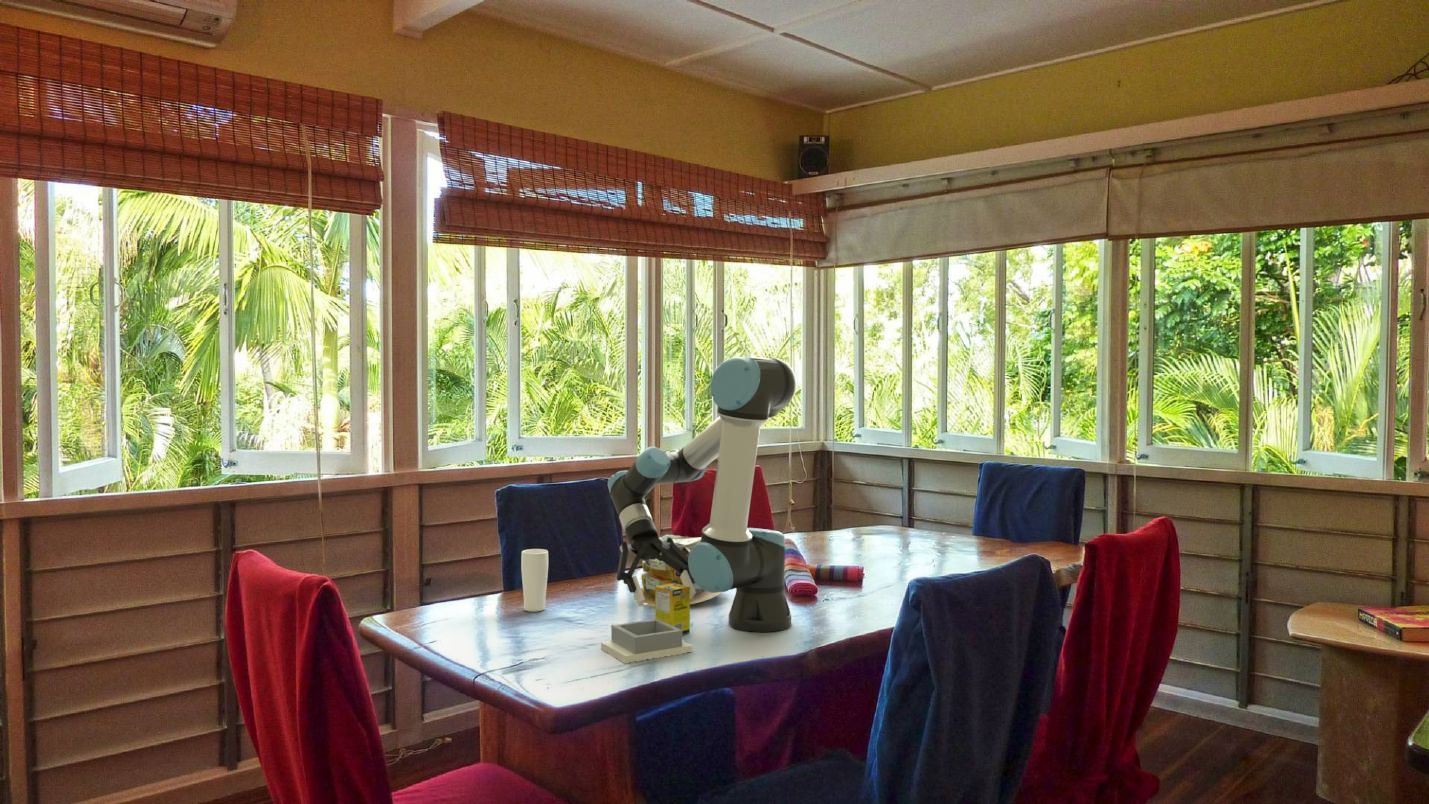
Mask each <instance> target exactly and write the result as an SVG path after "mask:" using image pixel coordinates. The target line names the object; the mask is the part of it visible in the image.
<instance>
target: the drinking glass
mask: <svg viewBox="0 0 1429 804" xmlns="http://www.w3.org/2000/svg"><path fill="white" fill-rule="evenodd" d="M520 560H521V562H520V566H521V567H520V568H521V581H522V590H523V591H522V592H523V593H522V594H523V609H524V611H525V612H530V613H532V612H533V613H537V612H542V611H544V610H545V608H546V599H547V598H546V597H547V585H548V575H549V551H548V550H547V549H543V548H530V549H524V550H522V551H521V557H520Z"/></svg>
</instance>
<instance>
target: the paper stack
mask: <svg viewBox="0 0 1429 804" xmlns="http://www.w3.org/2000/svg"><path fill="white" fill-rule="evenodd" d="M658 537H659V539H660V540H661V541H665V540H667V539H668V538H672V540H673V542H674V544H675V545H676V546H677V547H678V548H679V549H680V550H681V551H682V552H683V553H684V554H685V555H686V556H687V557H689V553H690V551H691V549H692V548H693V547H694V546H695V545H696V544H697V543H701V537H693V536H692V537H691V536H690V537H689V536H681V535H674V534H665V535H663V536H658ZM668 553H669V552H668ZM660 555H662V552H660ZM641 566H642V571H643V572H645V573H642V574H641V576H640V577H641V583H642V585H641V586H642V587H640V588H641V590H642V593H643V596H644V598H645V600H644V602H643V603H648V604H647V605H646V606H648V607H655V587H656V586H659V585H664V584H669V583H676V584H680V585H683V583H682V581H681V578H680V576H681V574H680V573H679V572H678V571H676V570H675V569H673V568H672V567H670V566H669V565H667V564H666V563H665V562H663V561H659V560H658V559H654V560H652V559H649V560H643V559H642V560H641ZM683 570H684V569H683ZM692 578H693V577H692ZM693 580H694V578H693ZM693 587H694V589H695V592H696V594H695V595H694V597H693V598H692V599H690V605H693V604H697V603H698V604H699V603H701V602H704V601H707V600H711V599H713V598H715V597H717V596H719V595H720V594H722V593H723V592H716V593H711V592H707V591H705V590H703V589H702V588H700V587H699V586H698V585H697V584H696V582H695V581H694V582H693ZM633 599H634V601H635V600H636V599H635V596H634V595H633Z"/></svg>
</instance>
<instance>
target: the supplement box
mask: <svg viewBox="0 0 1429 804" xmlns="http://www.w3.org/2000/svg"><path fill="white" fill-rule="evenodd" d="M690 610H691V604H690V587H689V586H685V585H680V584H676V583H669V584H664V585H659V586H656V587H655V606H654V619H659V620H661V621H663V622H665V623H667V624H670V625H672V626H674V627H676V628H678V629H680V630H682V635H684V634H689V633H690V631H691V627H690V626H691V623H690V622H691V617H690V616H691V615H690V614H691V611H690Z"/></svg>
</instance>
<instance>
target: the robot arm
mask: <svg viewBox="0 0 1429 804" xmlns="http://www.w3.org/2000/svg"><path fill="white" fill-rule="evenodd" d="M711 376H712V377H711V380H710V383H709V384H710V386H709V390H710V395H711V396H712V397H713V398H712V400H713V402H714V403H715V405H716V406H717V416H718V417H717V418H716V419H715V420H713V421H712V422H711V423H709V424H708V426H706V427H705V428H704V429H703V430H702V431H701V432H699V433H698V434H697V435H696V436H695V437H694V438H693V439H691V440H690V441H689V442H688V443H687V444H686V445H684V446H683V447H682V448H681V449H680V450H678V451H677V452H675V453H674V452H673V453H667V452H666V451H664V450H663V449H662V448H658V447H656V446H649V447H647V448H645V449H644V451H642V453H640V454H639V455H638V457H637V458H636V460H635V461H633V463H632V465H630V468H629V469H627V470H619V471H617V472H616V473H615V474H613V475H611V476H610V477H609V479H608V480H607V487H608V492H609V496H610V498H611V500H612V504H613V505H614V508H615V510H616V513H617V515H618V519H619V521H620V523H621V526H622V528H623V532H624V533H625V536H626V539H627V542H628V543H627V542H626V541H622V542H621V544H620V546H619V548H618V551H619V554H620V555H619V560H618V567H617V574H616V580H617V582H618V581H623V584H624V585H627V588H628V591H629V593H631V594H633V597H634V596H635V599H636V601H635V602H636V603H637V607H641V606H642V605H644V604H643V602H644V600H645V598H644V596H643V593H642V590H641V588H642V587H641V585H640V583H639V582H640V581H639V580H638V577H637V575H634V573H635V570H636V569H637V567H638V564H640V563H639V562H640V561H641V560H642V561H643V560H649V559H652V560H654V559H658V560H659V561H663V562H665V563H666V564H667V565H669V566H670V567H672V568H673V569H675V570H676V571H678V572H679V573H680V574H681V576H680V578H681V581H682V583H683V585H685V586H689V587H690V599H692V598H693V597H694V595H695V594H696V592H695V589H694V587H693V582H694V581H695V582H696V584H697V585H698V586H699V587H700V588H702V589H703V590H705V591H707V592H711V593H716V592H722V593H725V592H729V590H734V589H735V595H734V598H733V601H732V603H731V607H730V611H729V613H728V625H729V626H730V627H732V628H735V629H737V630H742V631H747V632H756V633H757V632H758V633H759V632H760V633H763V632H764V633H766V632H776V631H777V632H778V631H779V632H780V631H783V630H786V629H788V628H790V627H791V626H792V613H791V611H790V607H789V604H788V600H787V598H786V593H785V579H786V578H785V573H786V572H785V571H786V570H785V569H786V568H785V567H786V549H787V548H786V540H785V538H786V537H785V535H784V534H783V533H782V532H781V531H778V530H772V529H764V528H756V527H755V528H754V527H748V521H749V514H750V507H751V499H752V491H753V485H754V478H755V477H754V476H755V469H756V462H757V454H758V446H759V441H760V440H759V439H760V432H761V427H762V425H764V424H766V423H767V422H768V421H769V419H772V418H774V417H775V416H777V414H778V413H780V412H781V411H782V410H783V409H785V408H786V407H787V406H788V405H789V404H790V403H791V401H792V400H793V399H794V398H795V397H794V396H795V395H796V392H797V388H798V385H797V384H798V383H797V375H796V373H795V372H794V370H793V368H792V367H791V366H790V365H789V364H788V363H787V362H786V361H784V360H782V359H780V358H777V357H758V356H736V357H734V356H733V357H730V358H727V359H725V360H724V361H722V362H721V363H720V364H719V365H717V367H716V368H715V369H714V371H713V373H712V375H711ZM715 459H717V465H716V473H715V478H714V479H715V482H714V488H713V489H714V490H713V497H712V504H711V511H710V519H709V523H707V525H705V526H704V527H703V528H702V530H701V543H697V544H696V545H695V546H694V547H693V548H692V549H691V551H690V553H689V557H687V556H686V555H685V554H684V553H683V552H682V551H681V550H680V549H679V548H678V547H677V546H676V545H675V544H674V542H673V540H672V538H668V539H667V540H665V541H661V540H660V539H659V537H660V536H659V532H658V530H657V527H656V525H655V522H654V521H653V517H652V515H651V514H652V513H651V512H650V509H649V507H648V505H647V503H646V500H645V497H646V496H648V495H649V493H650V492H651V491H652V489H653V488H654V487H655V486H658V485H661V486H662V485H668V484H678V483H691V482H693V481H697V480H700V479H702V478H703V477H704V476H705V472H706V470H707V466H708V465H711V463H712V462H714V461H715ZM630 551H631V552H632V553H633V554H635V557H634V559H633V561H632V563H631V565H630V567H629V569H628V571H627V572H626V567H627V562H628V555H629V552H630ZM660 552H662V555H660ZM668 552H669V553H668ZM683 569H684V570H683ZM692 577H693V578H694V580H693V578H692Z"/></svg>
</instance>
